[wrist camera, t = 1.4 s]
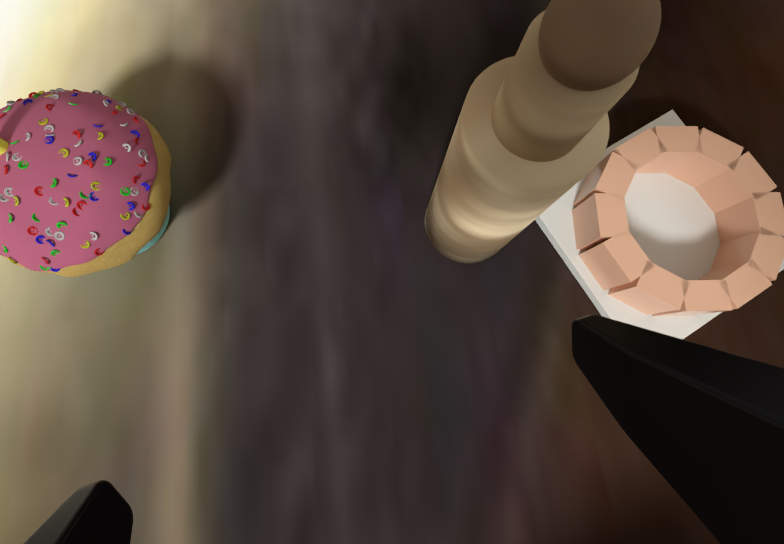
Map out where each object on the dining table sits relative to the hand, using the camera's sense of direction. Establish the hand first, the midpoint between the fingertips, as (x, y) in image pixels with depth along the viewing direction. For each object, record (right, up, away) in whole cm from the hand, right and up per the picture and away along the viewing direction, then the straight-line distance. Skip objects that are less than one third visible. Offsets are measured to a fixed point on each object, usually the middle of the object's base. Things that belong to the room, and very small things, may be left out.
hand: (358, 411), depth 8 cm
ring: (+16, +5, +16) cm, 23 cm away
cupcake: (-14, +6, +15) cm, 22 cm away
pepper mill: (+5, +5, +16) cm, 17 cm away
